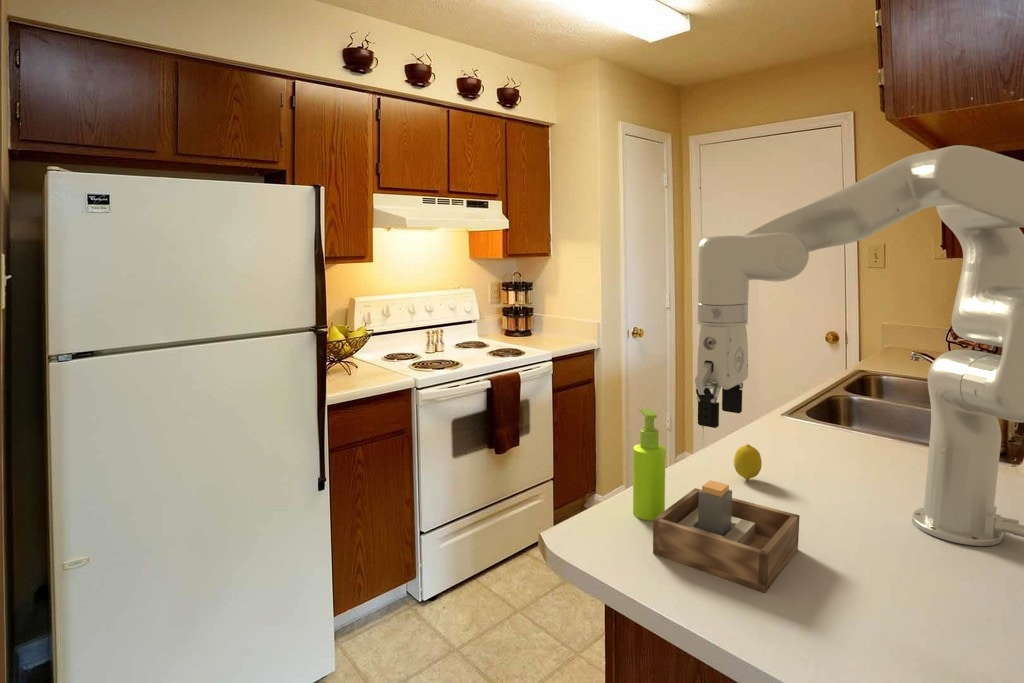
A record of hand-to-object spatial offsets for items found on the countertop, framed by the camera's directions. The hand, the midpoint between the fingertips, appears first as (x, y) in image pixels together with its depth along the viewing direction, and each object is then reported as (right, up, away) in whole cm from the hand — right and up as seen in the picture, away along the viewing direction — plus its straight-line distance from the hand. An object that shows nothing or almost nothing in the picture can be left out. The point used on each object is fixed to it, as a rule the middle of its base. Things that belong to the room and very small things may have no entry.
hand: (720, 418), depth 94 cm
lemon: (+17, -18, +30) cm, 39 cm away
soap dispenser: (-8, -20, +17) cm, 28 cm away
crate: (+1, -22, +2) cm, 22 cm away
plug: (0, -21, +3) cm, 21 cm away
